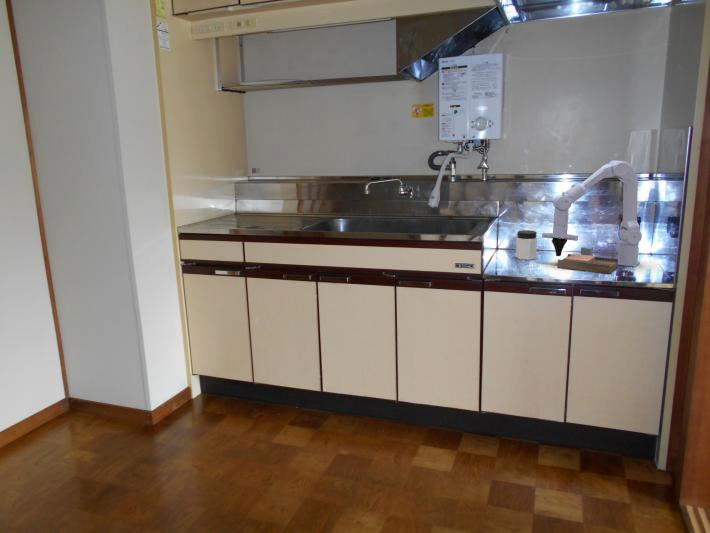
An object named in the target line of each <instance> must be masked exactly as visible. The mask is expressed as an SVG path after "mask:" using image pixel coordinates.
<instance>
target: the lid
mask: <svg viewBox="0 0 710 533" xmlns="http://www.w3.org/2000/svg"><path fill="white" fill-rule="evenodd" d="M566 257H567V258H566ZM566 257H564V258H565V260H568V261H577V262H586V263H591V262H592V261H594V260H595V257H596V255H593V256H590V255H581V253H579V254H578V253H573V254H572V255H570V256H569V257H568V256H566Z"/></svg>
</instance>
